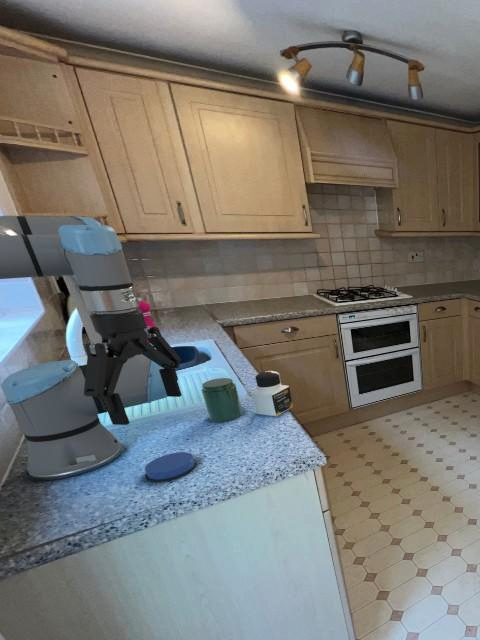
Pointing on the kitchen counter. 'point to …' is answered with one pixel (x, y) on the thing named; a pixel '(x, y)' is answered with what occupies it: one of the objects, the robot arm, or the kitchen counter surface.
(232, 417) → the jam jar
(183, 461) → the jam lid
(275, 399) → the medicine bottle
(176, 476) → the rubber mat
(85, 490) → the kitchen counter surface
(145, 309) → the pepper mill
